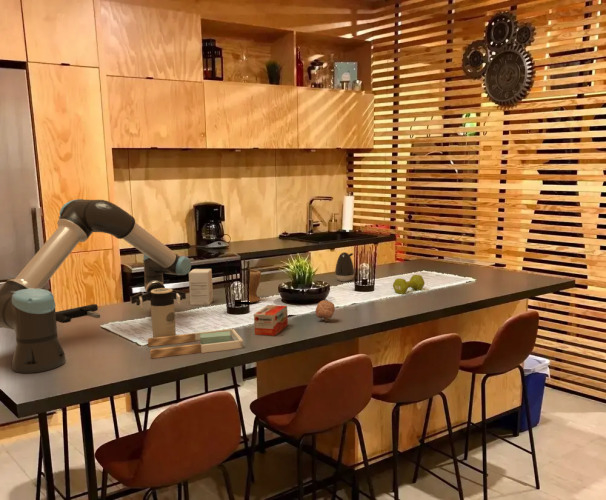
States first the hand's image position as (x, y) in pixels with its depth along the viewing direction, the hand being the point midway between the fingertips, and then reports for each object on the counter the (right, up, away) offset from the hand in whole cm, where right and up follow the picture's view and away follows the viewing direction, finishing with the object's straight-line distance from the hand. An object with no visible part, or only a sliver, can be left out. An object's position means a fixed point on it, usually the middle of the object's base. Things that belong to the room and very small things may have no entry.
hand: (160, 302), depth 207 cm
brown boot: (+27, -4, +50) cm, 57 cm away
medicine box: (+41, -11, +2) cm, 42 cm away
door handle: (-41, -9, +29) cm, 51 cm away
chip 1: (+20, -14, -16) cm, 29 cm away
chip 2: (+25, -13, -15) cm, 32 cm away
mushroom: (+61, -9, +12) cm, 63 cm away
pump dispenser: (+75, +3, +93) cm, 120 cm away
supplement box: (+6, -5, +49) cm, 50 cm away
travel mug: (+3, -13, -7) cm, 15 cm away
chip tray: (+23, -13, -14) cm, 30 cm away
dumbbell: (+103, -1, +63) cm, 121 cm away
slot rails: (+9, -14, -18) cm, 25 cm away
